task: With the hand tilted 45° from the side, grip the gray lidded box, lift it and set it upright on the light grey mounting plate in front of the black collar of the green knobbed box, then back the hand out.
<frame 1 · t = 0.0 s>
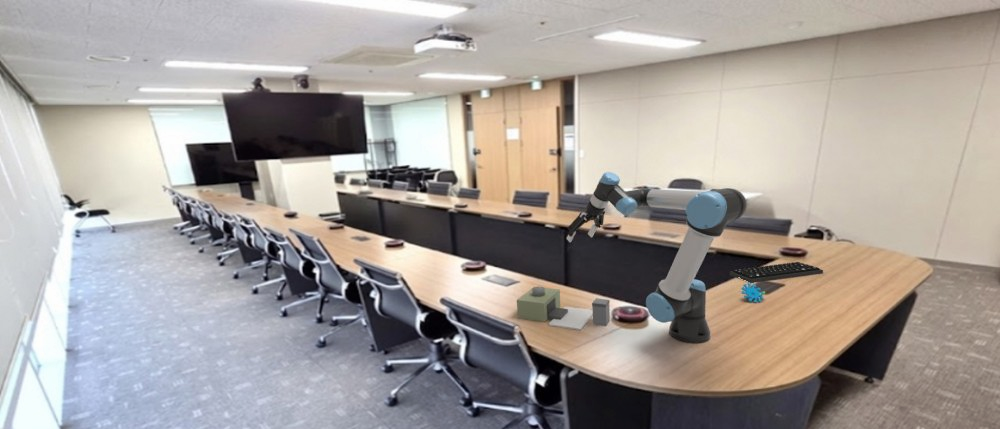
hand: (579, 237, 196), 36 cm above the table, tool tilted 35°, fingers open, 13 cm apart
green knobbed box: (559, 316, 195), on the table
gray lidded box: (601, 322, 186), on the table
blue virus model: (753, 300, 199), on the table
computer keyboard: (775, 275, 233), on the table
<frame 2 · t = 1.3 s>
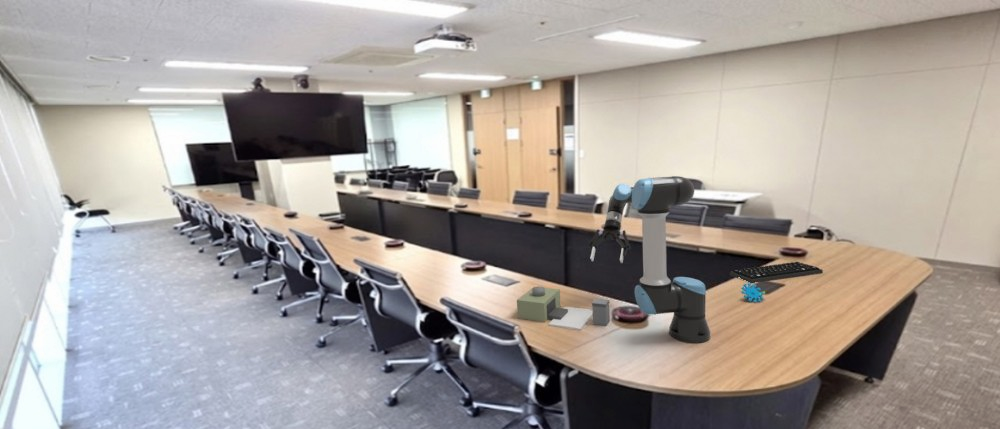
hand: (606, 260, 192), 25 cm above the table, tool tilted 45°, fingers open, 13 cm apart
nothing on the table moved.
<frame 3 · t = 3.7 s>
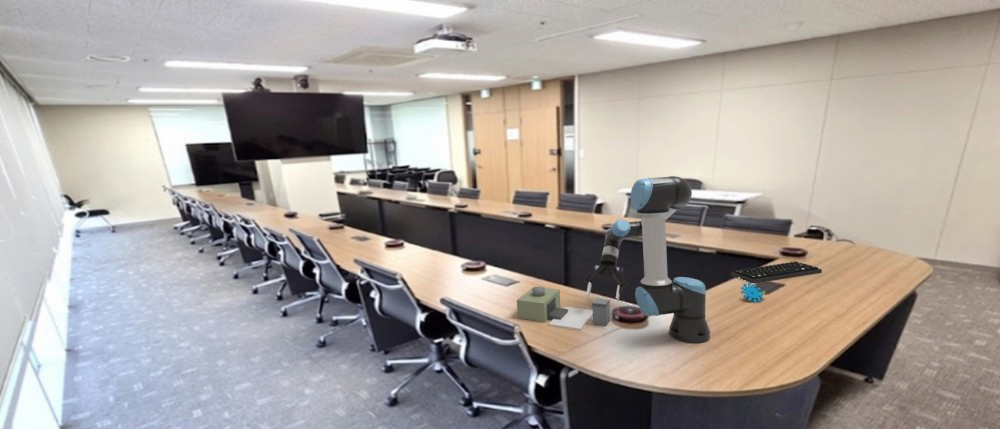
hand: (602, 297, 189), 10 cm above the table, tool tilted 45°, fingers open, 13 cm apart
nothing on the table moved.
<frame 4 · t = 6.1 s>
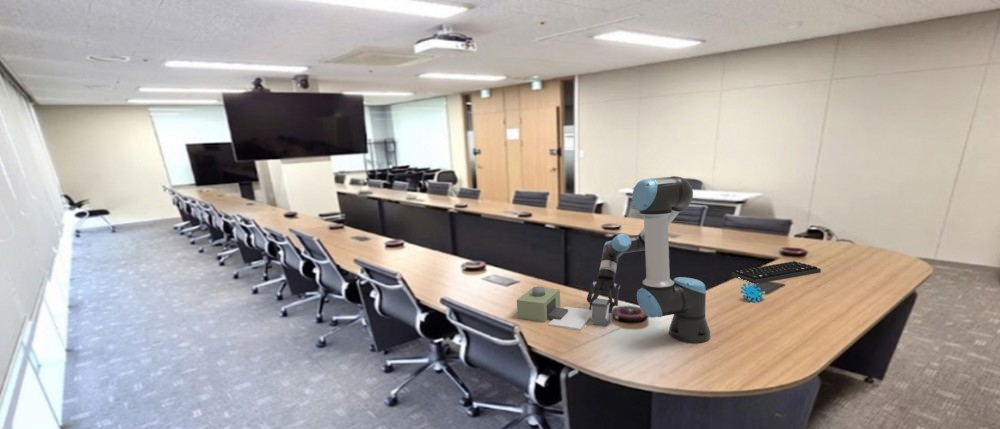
hand: (599, 318, 182), 3 cm above the table, tool tilted 45°, fingers closed on gray lidded box, 6 cm apart
gray lidded box: (601, 322, 186), on the table, touching gripper
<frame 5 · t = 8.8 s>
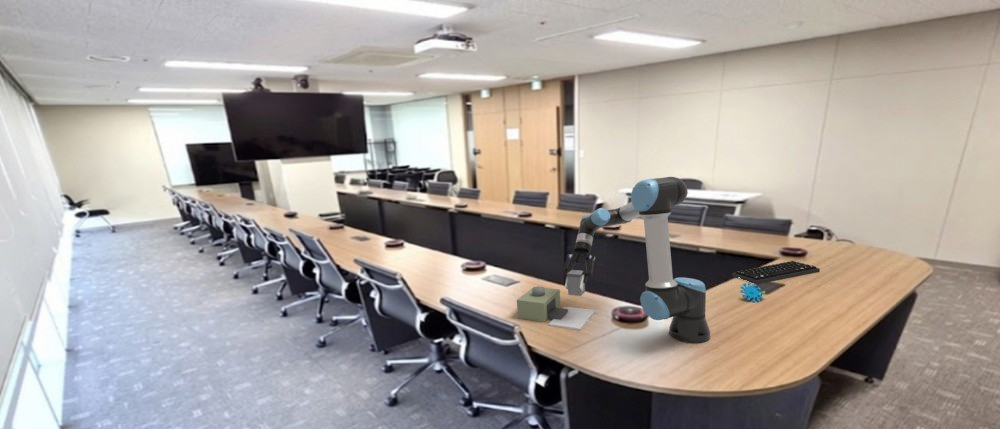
hand: (573, 288, 186), 16 cm above the table, tool tilted 45°, fingers closed on gray lidded box, 6 cm apart
gray lidded box: (576, 293, 189), point 12 cm above the table, touching gripper
when the fingers open (6 cm above the table, at t = 11.4 s): gray lidded box drops 1 cm, resting on green knobbed box.
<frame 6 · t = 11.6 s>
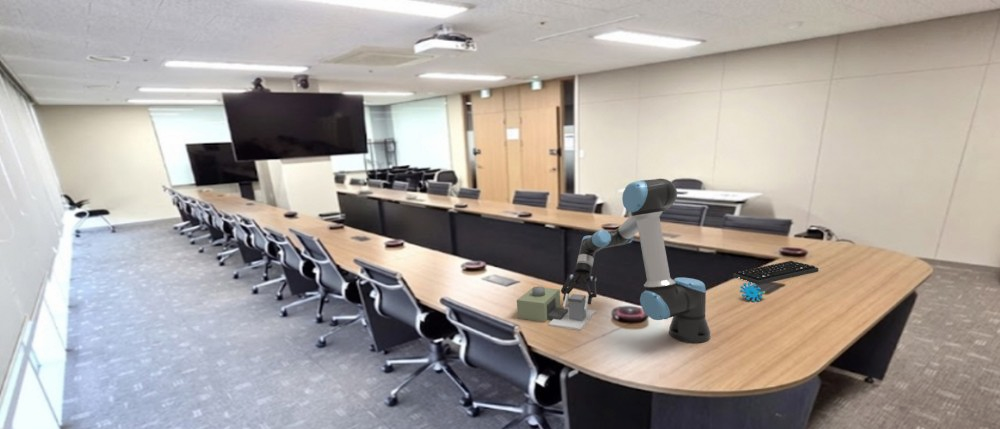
hand: (575, 309, 187), 6 cm above the table, tool tilted 45°, fingers open, 9 cm apart
gray lidded box: (577, 317, 191), point 1 cm above the table, touching green knobbed box
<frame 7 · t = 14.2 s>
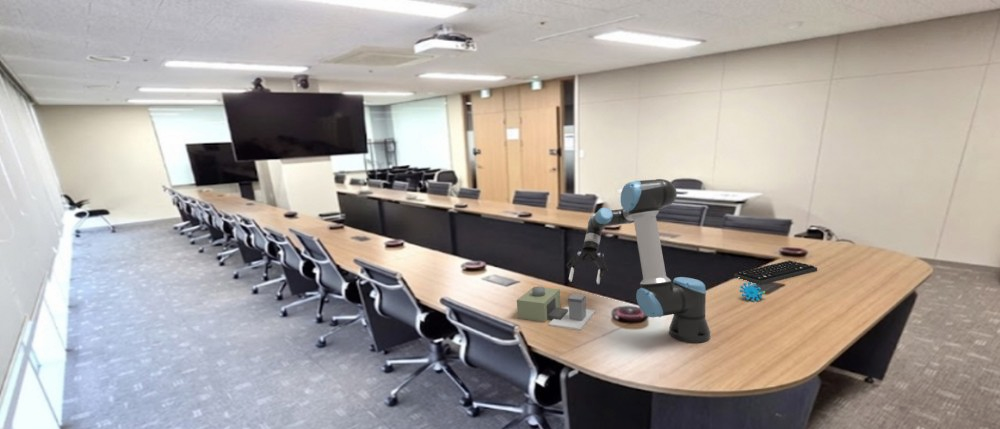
hand: (583, 281, 198), 15 cm above the table, tool tilted 45°, fingers open, 13 cm apart
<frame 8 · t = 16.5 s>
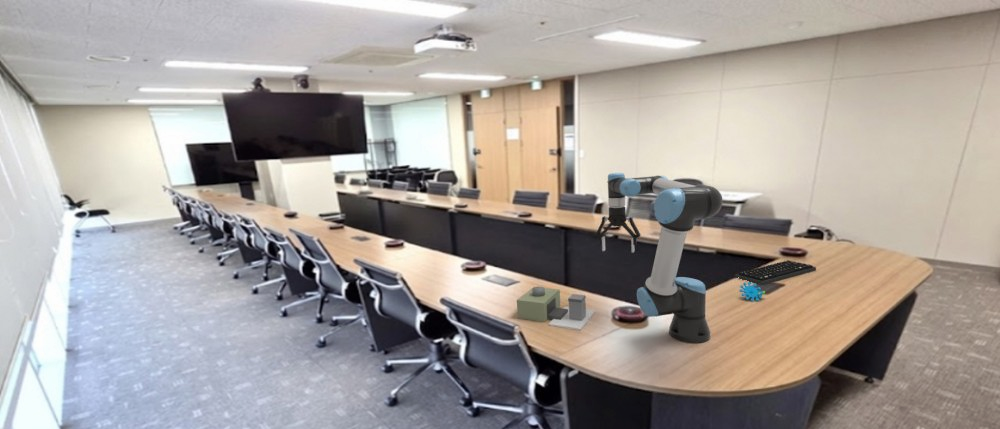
hand: (618, 251, 195), 29 cm above the table, tool pointing down, fingers open, 13 cm apart
at the end: gray lidded box inside the target area (0.3 cm from its centre), point 0.8 cm above the table; gray lidded box tilted 0°; the gripper is holding nothing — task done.
